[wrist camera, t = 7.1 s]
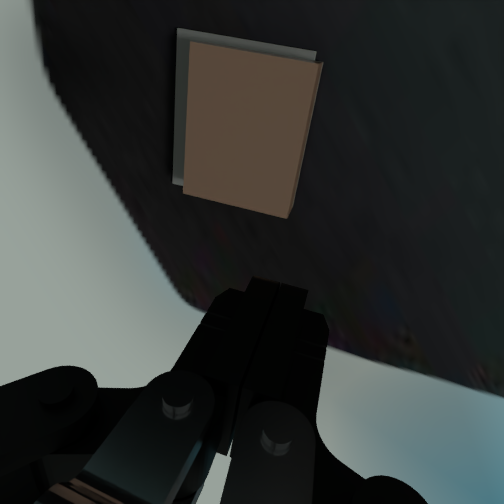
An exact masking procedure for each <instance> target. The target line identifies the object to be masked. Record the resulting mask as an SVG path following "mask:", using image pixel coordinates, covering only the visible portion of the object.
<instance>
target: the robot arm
mask: <svg viewBox="0 0 504 504" xmlns="http://www.w3.org/2000/svg"><path fill="white" fill-rule="evenodd" d="M279 287H280V289H279ZM307 294H308V290H306V289H302V288H298V287H295V286H291V285H288V284H284V283H282V284H281V286H280V282H276V281H273V280H269V279H266V278H262V277H258V276H255V275H254V276H253V277H252V279H251V281H250V283H249V285H248V287H247V289H246V291H245V292H242V291H239V290H235V289H232V288H229V289H228V290H226V291H224V292H223V293H221V294H220V295H218V296H217V297H215V299H214V301H213V302H212V304H211V306H210V307H209V309H208V311H207V313H206V314H205V315H204V317H203V319H202V320H201V323H200V324H199V325H198V327H197V329H196V330H195V332H194V334H193V335H192V337H191V339H190V340H189V342H188V343H187V345H186V347H185V348H184V350H183V352H182V353H181V355H180V357H179V358H178V360H177V362H176V363H175V365H174V367H173V368H172V369H171V371H169V372H166V373H163V374H161V375H159V376H157V377H155V378H154V379H153V380H152V381H150V382H149V383H148V384H147V386H144V387H139V388H98V385H97V382H96V379H95V378H94V376H93V375H92V374H91V373H90V372H89V371H87V370H85V369H83V368H81V367H76V366H59V367H54V368H51V369H47V370H44V371H42V372H39V373H36V374H33V375H30V376H28V377H25V378H22V379H19V380H16V381H14V382H11V383H8V384H5V385H2V386H0V504H196V502H197V500H198V497H199V495H200V493H201V491H202V489H203V486H204V482H205V479H206V478H207V475H208V473H209V470H210V468H211V465H212V462H213V459H214V457H215V454H216V452H217V453H220V454H222V455H225V456H227V454H228V451H229V448H230V445H231V442H232V440H233V442H232V447H231V452H230V457H231V462H230V466H229V470H228V474H227V478H226V482H225V485H224V489H223V493H222V497H221V502H220V504H428V503H427V502H426V501H425V499H424V498H423V497H422V496H421V495H420V494H419V493H418V492H417V491H416V490H414V489H413V488H412V487H411V486H409V485H407V484H406V483H404V482H403V481H400V480H398V479H396V478H393V477H389V476H382V475H380V476H373V477H369V478H367V479H364V478H363V477H361V476H360V475H359V474H357V473H356V472H354V471H353V470H352V469H350V468H349V467H347V466H346V465H345V464H343V463H342V462H341V461H339V460H338V459H337V458H335V456H334V455H332V453H331V452H329V450H328V449H327V447H326V446H325V444H324V443H323V441H322V439H321V437H320V435H319V432H318V429H317V424H316V413H317V407H318V400H319V394H320V387H321V381H322V374H323V368H324V360H325V355H326V347H327V342H328V336H329V328H328V325H327V323H326V320H325V318H324V315H323V314H320V313H316V312H313V311H309V310H306V309H304V305H305V301H306V297H307Z"/></svg>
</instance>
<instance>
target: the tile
mask: <svg viewBox="0 0 504 504" xmlns="http://www.w3.org/2000/svg"><path fill="white" fill-rule="evenodd" d="M322 66H323V62H321V61H315V60H309V59H303V58H298V57H292V56H286V55H280V54H274V53H269V52H263V51H257V50H251V49H246V48H240V47H234V46H228V45H223V44H217V43H211V42H205V41H190V51H189V73H188V95H187V117H186V139H185V161H184V183H183V193H184V194H188V195H192V196H196V197H200V198H205V199H209V200H213V201H217V202H221V203H225V204H229V205H233V206H237V207H241V208H245V209H249V210H253V211H257V212H262V213H266V214H270V215H274V216H278V217H282V218H286V219H287V217H288V215H289V213H290V211H291V209H292V207H293V203H294V198H295V194H296V189H297V184H298V179H299V175H300V170H301V165H302V161H303V156H304V151H305V146H306V142H307V137H308V132H309V127H310V123H311V118H312V113H313V108H314V104H315V99H316V94H317V90H318V85H319V80H320V75H321V71H322Z"/></svg>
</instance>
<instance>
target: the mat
mask: <svg viewBox="0 0 504 504" xmlns="http://www.w3.org/2000/svg"><path fill="white" fill-rule="evenodd" d="M190 41H205V42H211V43H217V44H223V45H228V46H234V47H240V48H246V49H251V50H257V51H263V52H269V53H274V54H280V55H286V56H292V57H298V58H303V59H309V60H315V57H316V52H317V51H311V50H305V49H299V48H293V47H288V46H282V45H276V44H270V43H264V42H258V41H252V40H246V39H241V38H235V37H229V36H223V35H217V34H211V33H205V32H199V31H194V30H188V29H182V28H177V54H176V87H175V120H174V153H173V184H177V185H182V186H183V183H184V161H185V139H186V117H187V95H188V73H189V51H190Z"/></svg>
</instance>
